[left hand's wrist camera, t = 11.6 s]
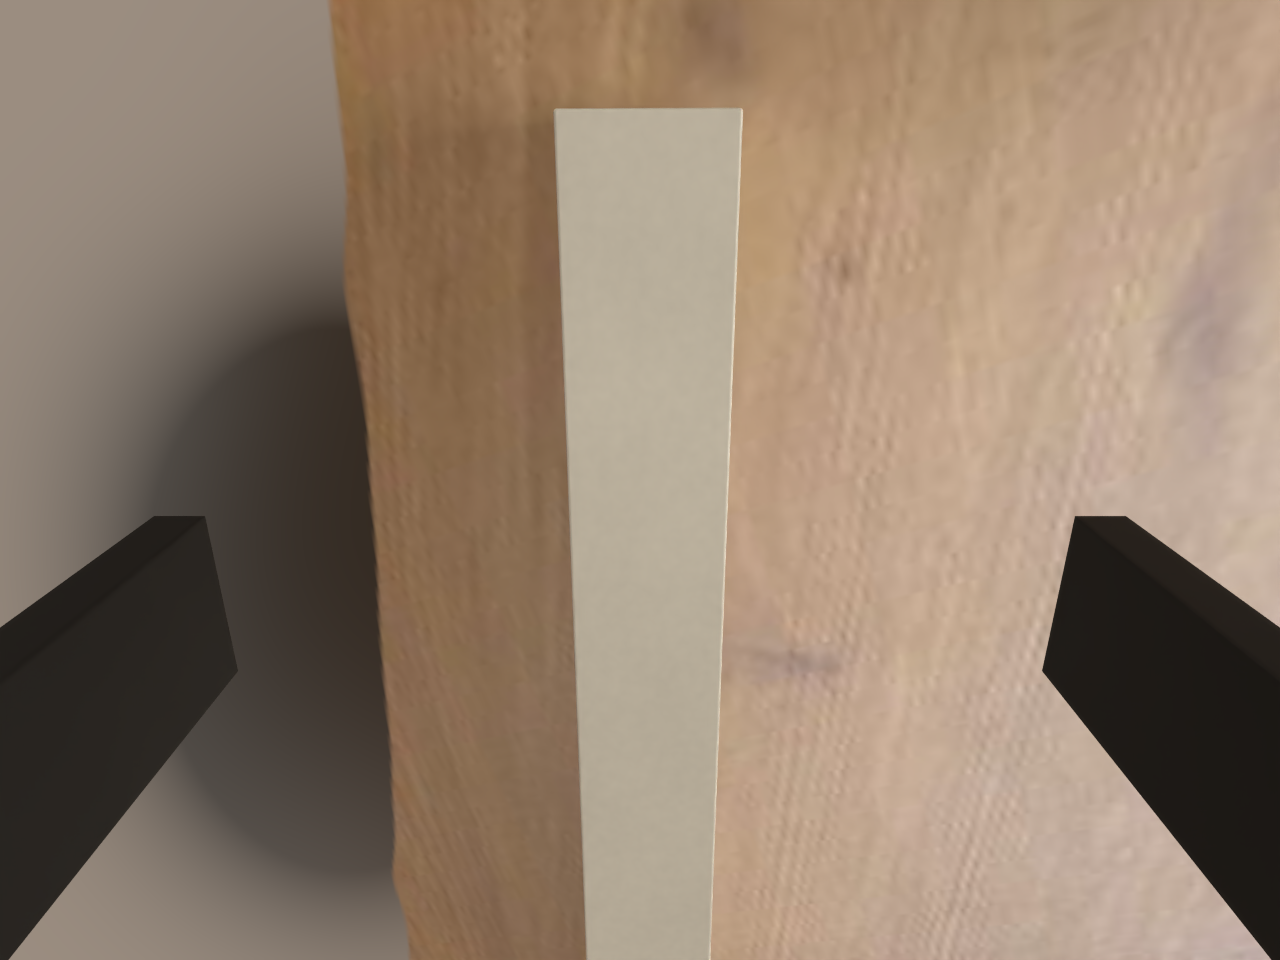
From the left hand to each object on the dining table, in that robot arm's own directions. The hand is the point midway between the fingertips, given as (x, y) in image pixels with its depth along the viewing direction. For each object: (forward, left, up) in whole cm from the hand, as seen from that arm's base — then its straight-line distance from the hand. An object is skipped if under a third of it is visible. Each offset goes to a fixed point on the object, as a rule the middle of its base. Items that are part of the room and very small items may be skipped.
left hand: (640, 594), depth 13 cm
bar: (+20, +4, -23) cm, 31 cm away
